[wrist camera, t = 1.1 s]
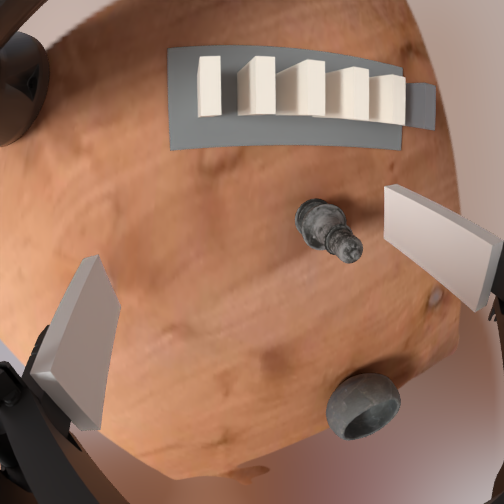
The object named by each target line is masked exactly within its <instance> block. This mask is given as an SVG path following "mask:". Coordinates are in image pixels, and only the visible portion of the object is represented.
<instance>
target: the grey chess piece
mask: <svg viewBox="0 0 504 504" xmlns="http://www.w3.org/2000/svg"><path fill="white" fill-rule="evenodd" d="M295 225H296V228H297V230H298V231H299V232H300V233H301V234H302V236H303V238H304V241H305V242H306V243H307V245H308V246H310V247H311V248H313V249H316V250H327V252H329V253H330V254H332V255H336V256H337V257H338V258H339V259H340V260H341V261H343V262H345V263H353V262H355V261H357V260H358V259H359V258H360V257H361V255H362V252H363V245H362V243H361V241H360V240H359V239H358V238H357V237H356V236H354V235H353V233H352V230H351V228H350V227H348V226H347V225H346V217H345V215H344V213H343V211H342V210H341V209H340V208H339V207H337V206H335V205H333V204H328V203H327V202H325V201H324V200H321V199H310V200H308V201H306V202H304V203H303V204H302V205H301V206H300V207H299V209H298V210H297V212H296V216H295Z"/></svg>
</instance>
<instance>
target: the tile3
mask: <svg viewBox="0 0 504 504" xmlns="http://www.w3.org/2000/svg"><path fill="white" fill-rule="evenodd" d="M276 115H286V116H325V61H318V60H309V59H307V60H305V61H302V62H300V63H298V64H296V65H294V66H291V67H289V68H287V69H285V70H283V71H281V72H279V73H277V74H276Z"/></svg>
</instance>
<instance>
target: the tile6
mask: <svg viewBox="0 0 504 504" xmlns="http://www.w3.org/2000/svg"><path fill="white" fill-rule="evenodd" d="M405 84H406V101H405V125H401V126H409V127H416V128H422V129H428V130H434V131H435V114H436V86H434V85H431V84H428V83H405ZM377 123H380V122H377ZM385 124H389V123H385ZM394 125H397V124H394Z"/></svg>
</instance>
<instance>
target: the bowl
mask: <svg viewBox="0 0 504 504" xmlns="http://www.w3.org/2000/svg"><path fill="white" fill-rule="evenodd" d="M400 405H401V399H400V394H399V392H398V390H397V388H396V387H395V385H394V384H393V382H392V381H391V380H390V379H389V378H388V377H386V376H384V375H382V374H377V373H365V374H359V375H356V376H353V377H351V378H349V379H347V380H345V381H344V382H342V383H341V384H340V385H339V386H338V387H337V389H336V390H335V391H334V392H333V394H332V395H331V397H330V399H329V401H328V404H327V409H326V417H327V421H328V424H329V426H330V428H331V429H332V430H333V431H334V433H335V434H336V435H338V436H339V437H340V438H342V439H344V440H355V439H359V438H363V437H366V436H368V435H371V434H373V433H375V432H376V431H378V430H380V429H381V428H383V427H384V426H385V425H386V424H387V423H389V422H390V421H391V420H392V419H393V418H394V416H395V415H396V414H397V413H398V411H399V408H400Z"/></svg>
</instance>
